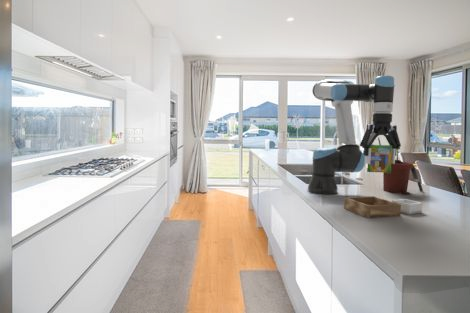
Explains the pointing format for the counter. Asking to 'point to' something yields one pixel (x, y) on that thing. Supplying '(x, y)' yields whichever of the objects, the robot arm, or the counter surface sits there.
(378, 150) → the chalk box
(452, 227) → the counter surface
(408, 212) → the white tub
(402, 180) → the potted plant
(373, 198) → the crate
